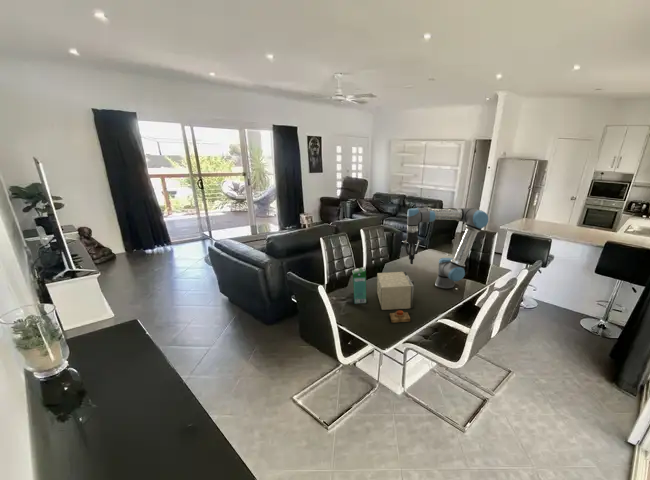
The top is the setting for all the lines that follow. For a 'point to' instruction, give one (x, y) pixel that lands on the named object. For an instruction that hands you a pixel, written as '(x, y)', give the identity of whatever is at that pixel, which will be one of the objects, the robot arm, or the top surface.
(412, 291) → the door
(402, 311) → the button
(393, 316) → the tan button base
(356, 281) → the milk carton
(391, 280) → the beige box
